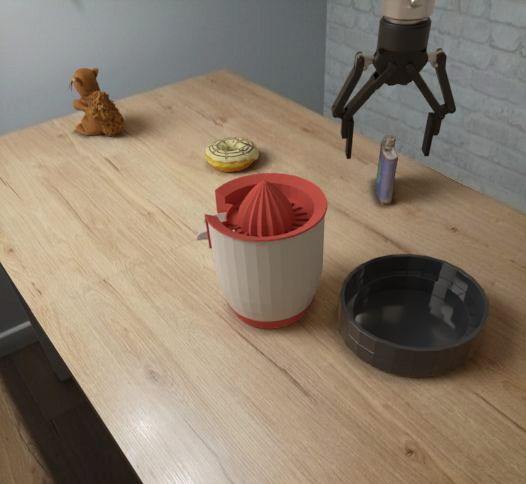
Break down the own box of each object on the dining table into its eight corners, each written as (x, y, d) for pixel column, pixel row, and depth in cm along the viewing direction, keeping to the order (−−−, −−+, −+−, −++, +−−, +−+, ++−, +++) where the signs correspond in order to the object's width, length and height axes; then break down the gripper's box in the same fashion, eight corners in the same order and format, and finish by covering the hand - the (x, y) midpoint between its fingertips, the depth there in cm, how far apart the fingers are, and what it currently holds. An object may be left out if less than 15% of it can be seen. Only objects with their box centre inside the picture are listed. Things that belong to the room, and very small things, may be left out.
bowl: (458, 280, 79) (467, 251, 75) (496, 377, 66) (509, 348, 62) (332, 285, 80) (334, 256, 75) (344, 381, 66) (347, 353, 62)
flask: (392, 205, 94) (400, 148, 86) (375, 205, 94) (382, 148, 86) (389, 179, 100) (396, 124, 92) (373, 179, 100) (379, 124, 92)
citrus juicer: (220, 267, 84) (203, 148, 69) (327, 273, 81) (333, 152, 67) (196, 335, 74) (170, 213, 59) (318, 345, 71) (323, 220, 56)
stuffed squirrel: (108, 115, 127) (92, 57, 117) (140, 132, 120) (126, 71, 110) (72, 129, 123) (52, 69, 113) (102, 147, 115) (85, 85, 106)
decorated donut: (268, 163, 107) (267, 145, 104) (225, 180, 103) (223, 162, 100) (240, 145, 113) (238, 128, 110) (198, 161, 109) (195, 144, 106)
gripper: (323, 28, 74) (317, 166, 89) (499, 20, 73) (462, 162, 89) (319, 12, 79) (314, 146, 95) (484, 5, 78) (452, 141, 94)
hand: (386, 154), depth 92 cm, fingers open, 13 cm apart
